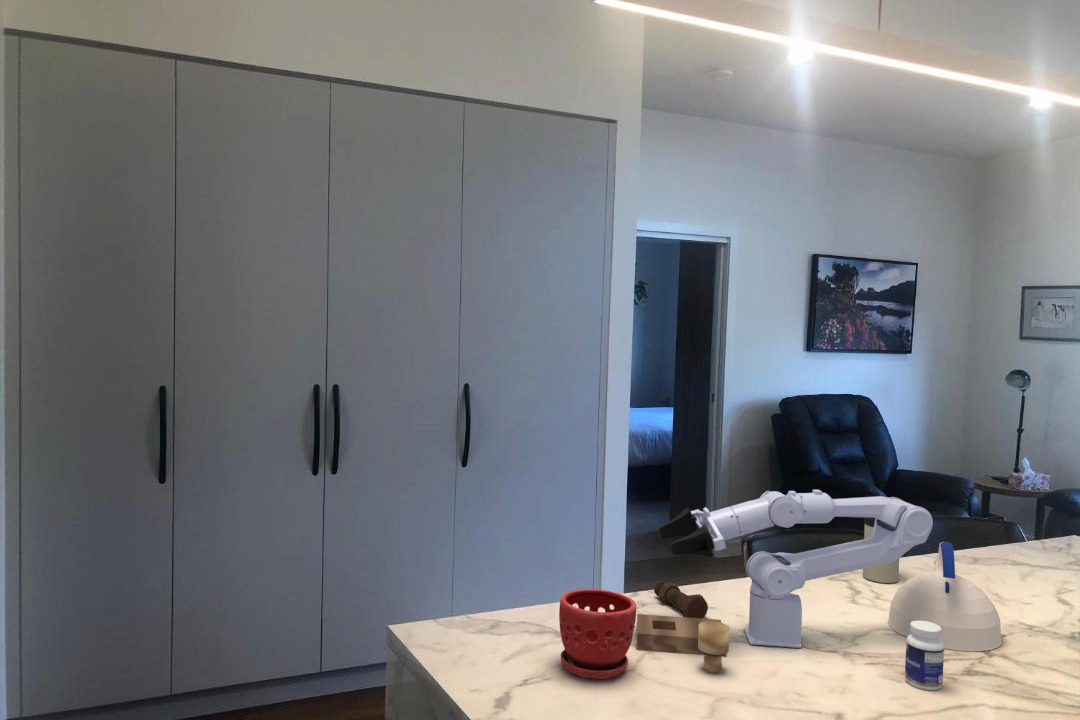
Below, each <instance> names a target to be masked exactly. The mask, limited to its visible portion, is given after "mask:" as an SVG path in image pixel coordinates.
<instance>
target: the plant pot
mask: <svg viewBox="0 0 1080 720" xmlns="http://www.w3.org/2000/svg"><path fill="white" fill-rule="evenodd" d="M559 600H560V601H559V613H558V615H559V616H558V617H559V618H558V619H559V620H558V621H559V622H558V623H559V632H560V638H561V643H562V645H563V648H564V649H563V650H562V651H561V653H560V657H559V658H560V661H561V663H562V665H563V666H564V668H565V669H566V670H568V671H569V672H570V673H572V674H574V676H576V677H577V676H578V677H579V676H580V677H583V678H587V679H598V680H599V679H600V680H601V679H609V678H614V677H617V676H618V675H620V674H622V673H623V672H624V671H625V670H626V669H627V667H628V665H629V659H628V657H627V653H628V652H629V649H630V647H631V644H632V640H633V637H634V631H635V630H634V629H635V625H636V622H637V603H636V602H635V600H633V599H632V598H630V597H628V596H627V595H625V594H622V593H619V592H617V591H610V590H606V589H596V588H595V589H594V588H585V589H574V590H570V591H568V592H567V591H566V592H565V593H563V594H562V595H561V597H560V599H559ZM575 604H576V605H577V606H578V607H576V606H574V605H575ZM611 605H612V606H613V609H611V607H610V606H611ZM587 607H589V609H588V610H586V609H585V608H587ZM600 608H602V609H603V610H604V612H603V611H599V609H600Z"/></svg>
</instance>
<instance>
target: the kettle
mask: <svg viewBox="0 0 1080 720" xmlns="http://www.w3.org/2000/svg"><path fill="white" fill-rule="evenodd" d="M937 555H938V557H937V558H936V559H935V560H934V561H933V565H934V569H933V571H930V572H928V571H927V572H921V573H919V574H917V575H915V576H913V577H911V578H909V579H907V580H906V581H905V582H904V583H903V584H901V585H900V586H899V587H898V588H897V590H896V592H895V593H894V595H893V597H892V599H891V602H890V606H889V607H890V608H889V612H888V613H889V614H888V618H887V619H888V620H887V623H888V625H889V626H890V628H891V629H892V630H894V631H895V632H896V633H897V634H900V635H901V636H903V637H905V638H907V637H908V636H909V635H910V634H912V632H911V631H910V624H911V622H912V621H927V622H931V623H934V624H937V625H939V626H940V627H941V637H939V639H940V640H941V641H942V642H943V644H944V650H952V651H957V652H958V651H960V652H973V653H975V652H977V653H978V652H988V651H992V650H995V649H997V648H998V647H1000V646H1001V645H1003V639H1002V630H1001V628H1002V627H1001V618H1000V616H999V612H998V611H997V608H996V606H995V604H994V603H993V601H992V600H991V599H990V598H989V597H988V595H987V594H986V593H985V592H984V590H982V589H981V588H980V587H979V586H978V585H976V584H975V582H972V581H971V580H969V579H967V578H964V577H963V576H961V575H958V574H956V567H955V566H956V565H955V563H956V562H955V551H954V545H953V544H952V543H951V542H949V541H942V542H940V543H939V547H938V554H937Z"/></svg>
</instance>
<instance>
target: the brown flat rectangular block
mask: <svg viewBox="0 0 1080 720" xmlns="http://www.w3.org/2000/svg"><path fill="white" fill-rule="evenodd" d="M704 621H716V622H721V623H722V620H721V619H714V618H713V619H711V618H704V619H702V618H688V617H685V616H684V617H683V616H673V615H672V616H670V615H656V614H643V613H636V650H638V651H648V650H651V651H652V652H663V653H677V654H689V655H702V656H704V654H703V653H701V652H700V651H699V648H698V630H699V623H701V622H704ZM651 651H650V652H651ZM723 657H727V654H726V655H724V656H723Z"/></svg>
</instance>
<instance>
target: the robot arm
mask: <svg viewBox="0 0 1080 720" xmlns="http://www.w3.org/2000/svg"><path fill="white" fill-rule="evenodd" d="M835 517H840V518H843V517H846V518H865V517H872V518H876V519H875V524H874V529H873V534H872V536H871V538H867V539H864V538H863V539H858V540H853V541H849V542H845V543H840V544H834V545H830V546H825V547H821V548H820V547H819V548H816V549H812V550H807V551H801V552H797V553H791V552H782V551H781V552H775V553H771V552H768V551H758V552H757V551H756V552H755V553H753V554H752V555H751V556H750V557H749V559H748V560H747V562H746V569H745V570H746V574H747V575H748V577H749V578H750V580H751V585H750V587H749V610H748V613H749V615H748V626H744V627H743V630H744V632H745V635H746V638H747V641H748V643H749V644H750V645H757V646H771V647H783V648H795V649H796V648H797V649H801V648H802V626H803V623H802V620H803V609H802V608H803V607H802V600H801V597H800V595H799V594H797V593H793V592H794V591H797V590H799V589H803V588H804V587H805V584H806V582H807V581H812V580H817V579H821V578H825V577H831V576H835V575H840V574H844V573H848V572H854V571H858V570H863V569H864V568H868V567H873V566H878V565H882V564H887V563H891V562H894V561H896V560H897V559H898V558H899V559H900V558H901V557H902V556H903V555H904V554H906V553H907V552H908V551H910V550H911V549H912V548H914V547H915V546H919V545H921V544H924V543H926V541H927V540H928V538H929V535H930V533H931V531H932V529H933V525H934V523H933V522H934V520H933V516H932V515H931V513H930V512H929V511H928V509H926V508H924V507H922V506H920V505H919V506H918V505H914V504H912V503H910V502H906V501H904V500H903V499H901V498H899V497H895V496H891V497H888V496H883V495H882V496H881V495H879V496H865V497H864V496H863V497H848V498H832V497H831V496H830V495H829V494H827V493H826V492H823V491H822V490H820V489H812V492H806V493H805V492H803V493H802V492H799V493H797V492H796V491H795V490H788V492H787V493H786V495H785V494H783V493H782V492H780V491H775V490H773V491H770V490H766V491H765V492H764V493H762V495H760V497H759V498H756V499H753V500H748V501H744V502H741V503H738V504H733V505H730V506H727V507H724V508H720V509H716V510H713V511H710V510H709V509H708V508H707V507H704V508H702V510H700V509H698V508H697V509H694V510H691V509H690V508H689V507H685V508H684V509H683V510H682V511H681V512H680V513H679V514H677V516H675V517H673V519H671V520H670V521H667V522H666V523H664V524H662V525H661V526H659V527H658V531H659V536H660V538H661V539H671V538H677V537H681V536H682V537H681V538H678V539H676V540H674V541H672V542H670V543H669V547H670V551H671V554H672V556H682V555H683V556H686V555H695V556H696V555H697V556H703V557H708V558H712V557H714V556H713V555H714V553H713V550H714V551H716V552H718V551H722V550H724V549H726V548H727V546H726V541H728V540H731V539H735V538H737V537H740V536H741V537H742V536H744V535H748V534H752V533H755V532H758V531H760V530H764V529H769V528H771V527H774V526H775V525H776V526H778V527H781V528H786V529H788V528H791V527H793V526H795V524H828V523H830V522H831V521H832V520H833V519H834V518H835ZM697 527H698V529H697Z"/></svg>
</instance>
